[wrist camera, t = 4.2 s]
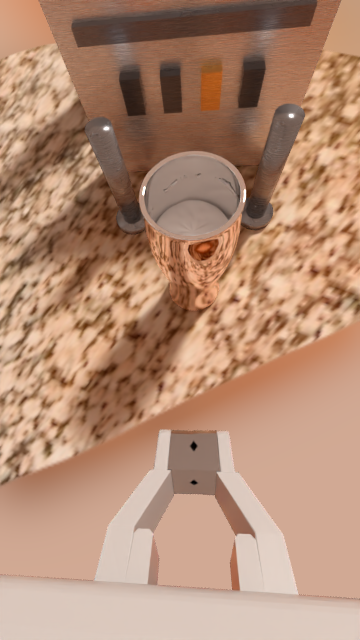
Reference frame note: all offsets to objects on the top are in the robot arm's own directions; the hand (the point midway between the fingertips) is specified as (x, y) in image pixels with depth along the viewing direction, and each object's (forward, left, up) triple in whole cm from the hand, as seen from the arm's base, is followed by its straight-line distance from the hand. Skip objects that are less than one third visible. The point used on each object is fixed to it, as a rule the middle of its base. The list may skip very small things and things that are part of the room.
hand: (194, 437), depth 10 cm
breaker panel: (0, +32, -15) cm, 36 cm away
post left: (-8, +23, -15) cm, 29 cm away
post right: (+8, +23, -15) cm, 29 cm away
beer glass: (0, +13, -16) cm, 21 cm away
